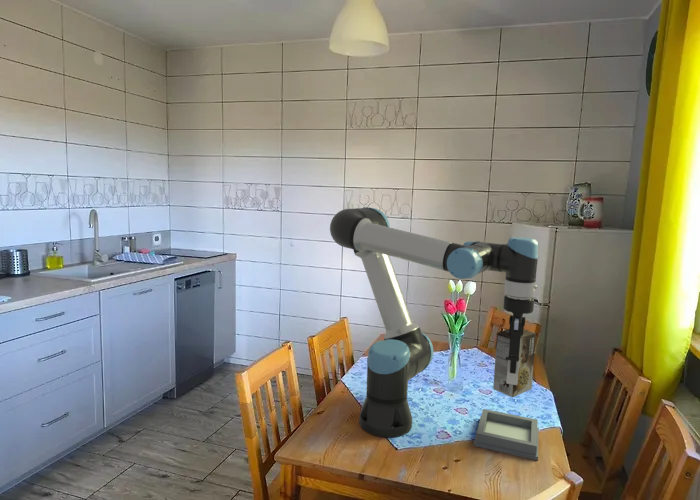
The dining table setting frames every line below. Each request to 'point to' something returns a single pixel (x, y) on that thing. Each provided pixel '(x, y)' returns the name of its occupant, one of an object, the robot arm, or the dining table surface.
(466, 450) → the dining table surface
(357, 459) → the dining table surface
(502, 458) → the dining table surface
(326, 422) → the dining table surface
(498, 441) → the tray
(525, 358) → the coffee box
